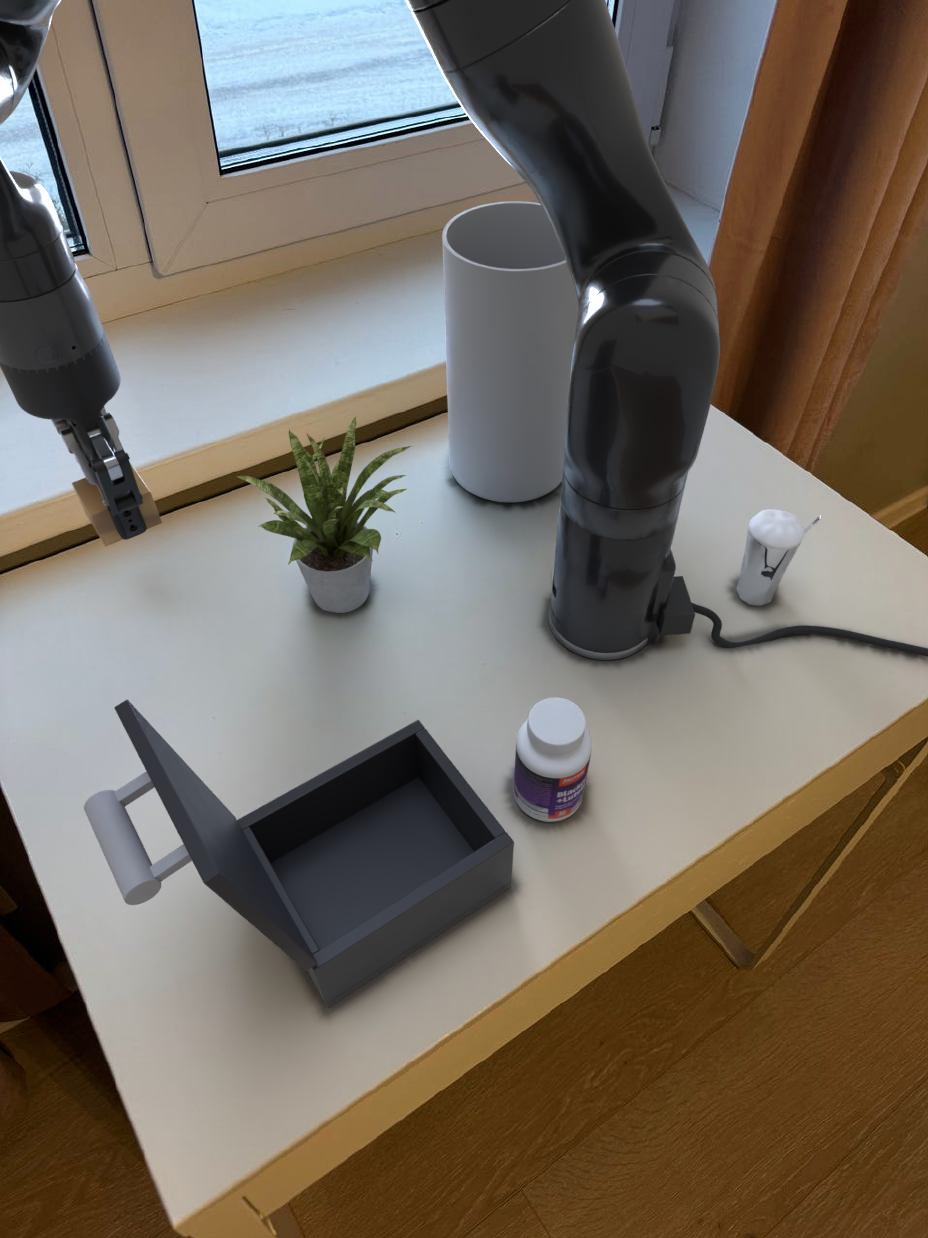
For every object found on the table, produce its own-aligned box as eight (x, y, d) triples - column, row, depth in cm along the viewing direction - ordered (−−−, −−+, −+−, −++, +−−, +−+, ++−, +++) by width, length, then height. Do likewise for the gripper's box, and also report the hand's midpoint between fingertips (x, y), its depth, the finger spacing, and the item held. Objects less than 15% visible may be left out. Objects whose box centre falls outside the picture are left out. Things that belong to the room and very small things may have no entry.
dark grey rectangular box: (422, 769, 70) (418, 718, 65) (511, 887, 64) (514, 841, 59) (250, 868, 65) (230, 822, 60) (327, 1008, 58) (313, 970, 53)
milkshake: (790, 616, 80) (822, 535, 73) (729, 608, 81) (755, 527, 73) (788, 580, 83) (819, 498, 76) (729, 572, 84) (754, 491, 76)
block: (141, 491, 79) (129, 460, 76) (162, 523, 76) (150, 491, 73) (85, 514, 77) (71, 482, 74) (105, 547, 74) (91, 515, 71)
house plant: (461, 579, 84) (458, 438, 71) (369, 677, 76) (349, 538, 64) (343, 522, 89) (321, 381, 77) (246, 608, 82) (205, 468, 69)
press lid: (127, 698, 47) (43, 750, 46) (219, 873, 40) (123, 938, 39) (234, 816, 59) (170, 859, 58) (318, 963, 53) (247, 1015, 52)
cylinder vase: (570, 434, 98) (592, 204, 79) (565, 510, 90) (588, 274, 71) (457, 427, 99) (452, 198, 80) (442, 502, 91) (432, 267, 72)
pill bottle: (562, 836, 66) (573, 766, 59) (500, 802, 68) (502, 731, 61) (595, 782, 69) (609, 709, 62) (534, 751, 71) (541, 676, 64)
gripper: (134, 364, 61) (196, 545, 73) (68, 279, 68) (134, 455, 81) (23, 403, 58) (108, 583, 71) (-33, 309, 66) (53, 487, 79)
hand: (122, 514), depth 76 cm, fingers closed on block, 5 cm apart
